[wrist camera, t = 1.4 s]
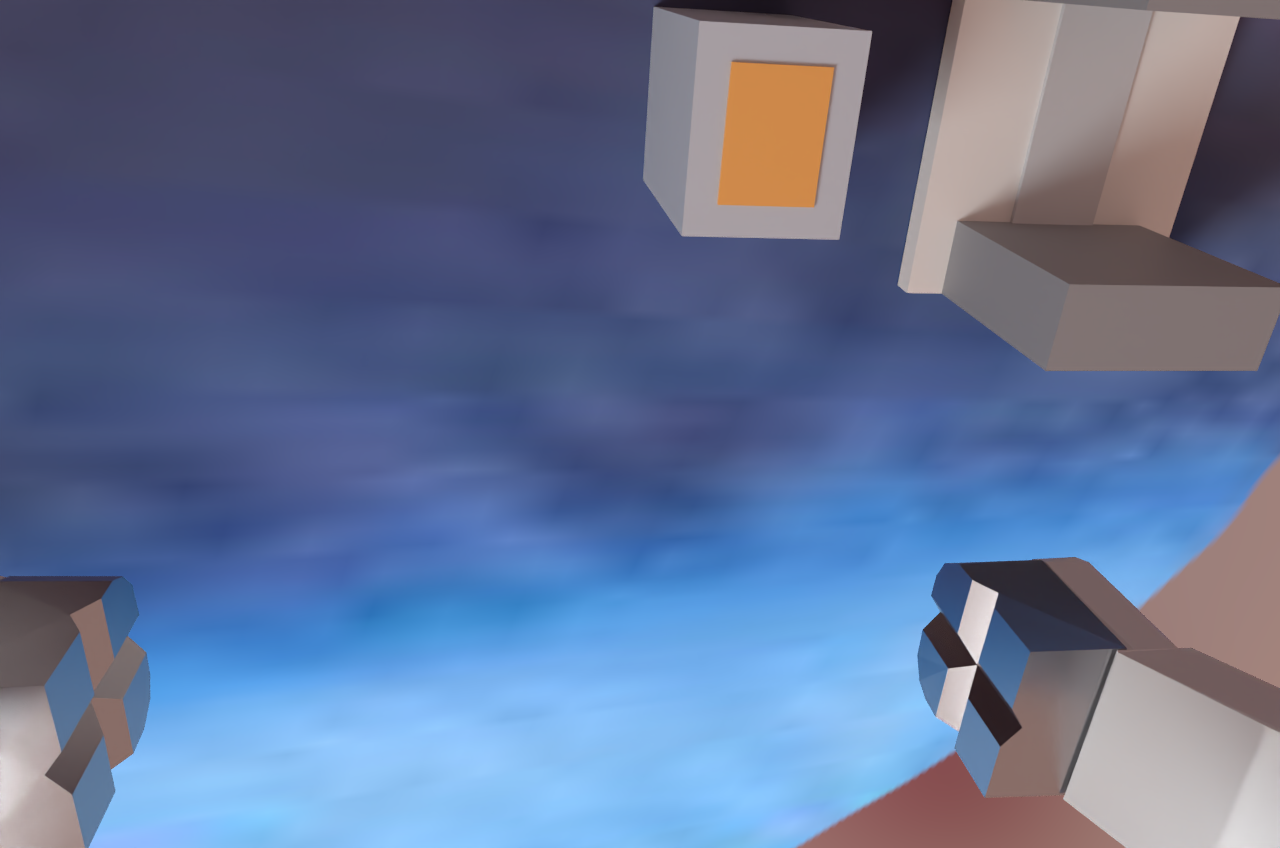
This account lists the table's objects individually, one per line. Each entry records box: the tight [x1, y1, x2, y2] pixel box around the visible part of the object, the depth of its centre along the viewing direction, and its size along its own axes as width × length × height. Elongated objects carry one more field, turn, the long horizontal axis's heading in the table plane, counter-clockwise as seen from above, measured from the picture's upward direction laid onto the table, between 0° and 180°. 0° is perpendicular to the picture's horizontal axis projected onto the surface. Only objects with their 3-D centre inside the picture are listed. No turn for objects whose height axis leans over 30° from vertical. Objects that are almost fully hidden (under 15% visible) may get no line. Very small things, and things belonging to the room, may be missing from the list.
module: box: [643, 7, 872, 240], centre depth 31 cm, size 6×5×8 cm
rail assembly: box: [898, 0, 1280, 371], centre depth 32 cm, size 14×11×9 cm
